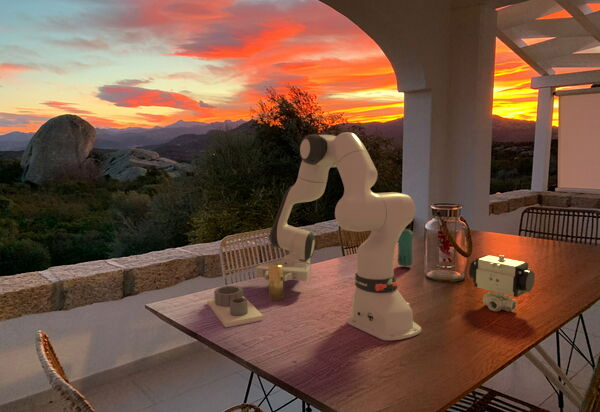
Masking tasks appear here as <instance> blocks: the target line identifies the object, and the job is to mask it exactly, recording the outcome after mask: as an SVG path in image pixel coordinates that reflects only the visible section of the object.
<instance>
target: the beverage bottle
mask: <svg viewBox="0 0 600 412" xmlns="http://www.w3.org/2000/svg"><path fill="white" fill-rule="evenodd" d="M411 224H412V223H409V224H408V225H407V226H406V227H405V229H404V230H403V232H402V233H401V235H400V237H399V239H398V242H397V245H398V246H397V248H398V249H397V264H398V265H399V266H400V267H401V266H402V267H410V266H413V257H414V256H413V255H414V254H413V253H414V249H413V244H414V243H413V242H414V240H413V239H414V233H413V232H412V230H410V229H411V228H412V226H411Z"/></svg>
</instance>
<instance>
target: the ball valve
mask: <svg viewBox="0 0 600 412" xmlns="http://www.w3.org/2000/svg"><path fill="white" fill-rule="evenodd" d="M468 274H469V278H470V279H472V282H473V283H474V286H473V287H475V288H477V289H482V290H487V291H489V292H485V293H484V294H483V297H482V302H483V304H484V305H486V306H487V308H488V309H489V310H490V311H491V312H492V311H493V312H500V311H501V310H502V311H505V312H512V313H513V312H514V311H515V310H516V308H517V300H516V299H513V298H512V297H515V298H518V297H520V296H522V295H524V294H526V293H530V292H531V291H532V290H533V287H534V285H535V279H536V278H535V277H536V276H535V272H534V270H530V267H529V262H526V261H519V260H515V259H510V258H505V255H502V254H499V255H498V256H494V255H488V254H485V255H482V256H479V257H477V258H475V259H473V260H472V261H471V263H470V265H469V269H468Z"/></svg>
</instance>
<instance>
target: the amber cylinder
mask: <svg viewBox="0 0 600 412" xmlns="http://www.w3.org/2000/svg"><path fill="white" fill-rule="evenodd" d="M268 268H269V280H268V295H269V296H268V299H269V300H270V301H275V302H277V301H282V300H283V299H284V281H282V278H281V277H282V276H283V265H282V264H280V263H278V262H274V263H273V264H269V265H268Z"/></svg>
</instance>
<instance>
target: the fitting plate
mask: <svg viewBox="0 0 600 412" xmlns="http://www.w3.org/2000/svg"><path fill="white" fill-rule="evenodd" d="M213 292H214V293H213V294H214V298H209V299H207V305H208V307H209V308H210V309H211V310H212V312H213V313H214V315H215V316H216V317H217V318H218V320H219V321H220V322H221V324H222V325H223V326H224V327H225V328H230V327H236V326H240V325H245V324H250V323H255V322H260V321H263V320H264V314H262V313H261V311H259V310H258V309H257V308H256V307H255V306H254V304H252V303H251V302H250V301H249V300H248V299H247V298H246V297H245V296H244V289H243V288H242V287H241V286H239V285H225V286H220V287H217V288H216V289H215V290H214V291H213Z"/></svg>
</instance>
